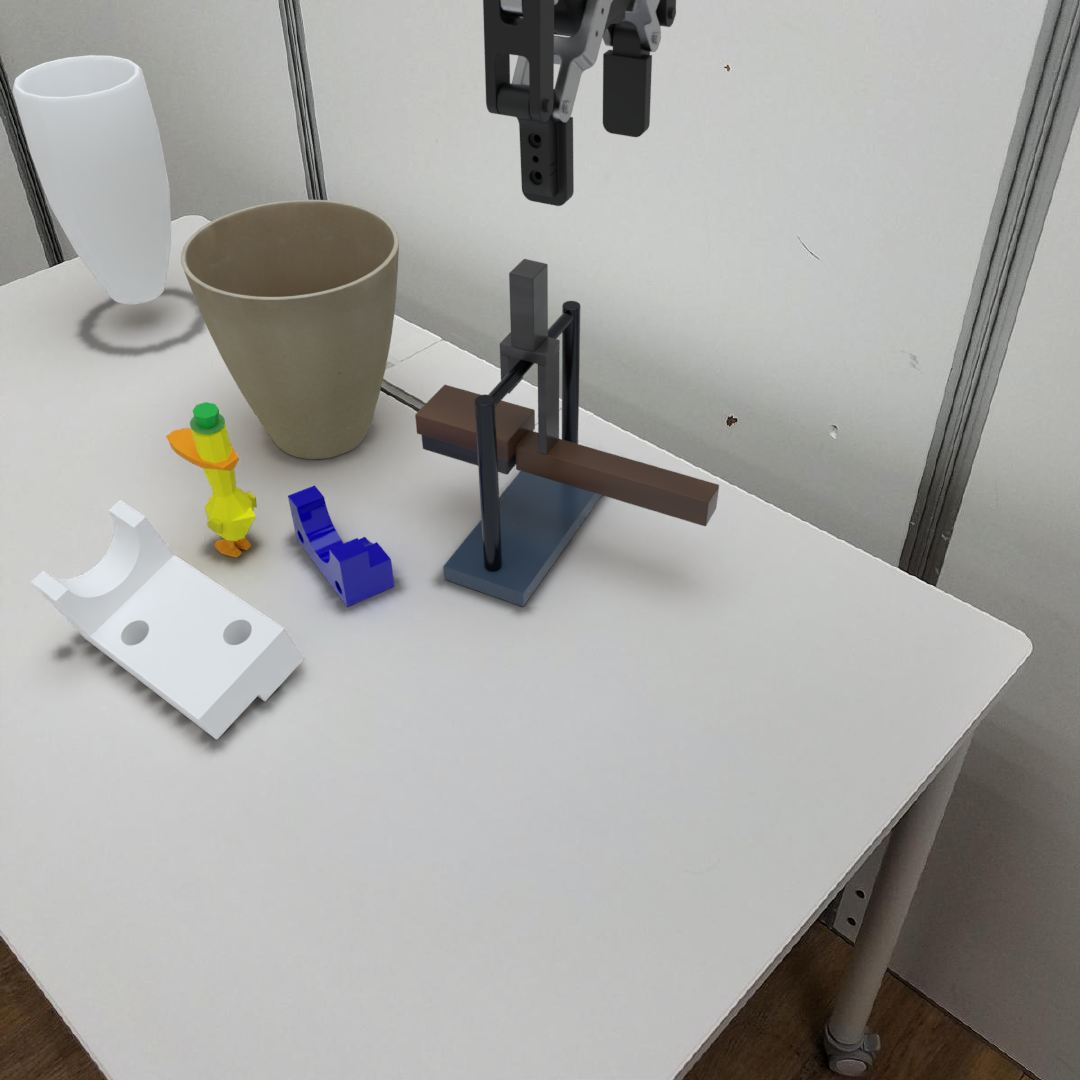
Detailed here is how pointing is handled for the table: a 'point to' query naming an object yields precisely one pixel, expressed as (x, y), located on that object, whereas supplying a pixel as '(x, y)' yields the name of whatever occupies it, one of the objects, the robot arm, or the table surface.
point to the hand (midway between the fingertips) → (589, 164)
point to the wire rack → (523, 493)
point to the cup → (101, 168)
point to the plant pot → (300, 315)
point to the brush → (552, 422)
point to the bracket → (174, 626)
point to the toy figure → (217, 477)
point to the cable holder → (339, 551)
